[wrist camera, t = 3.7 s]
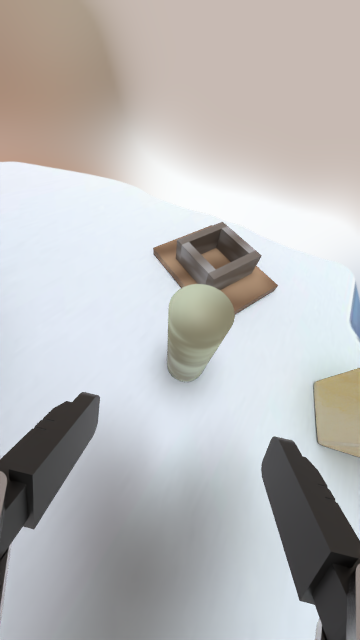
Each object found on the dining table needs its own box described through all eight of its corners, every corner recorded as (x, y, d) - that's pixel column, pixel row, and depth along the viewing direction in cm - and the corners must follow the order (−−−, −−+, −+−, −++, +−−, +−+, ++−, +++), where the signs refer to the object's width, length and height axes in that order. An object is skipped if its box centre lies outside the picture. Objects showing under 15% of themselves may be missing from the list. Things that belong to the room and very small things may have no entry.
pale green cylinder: (160, 357, 23) (156, 300, 13) (189, 339, 25) (207, 275, 14) (180, 389, 22) (194, 353, 11) (210, 368, 23) (248, 319, 13)
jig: (153, 253, 32) (152, 228, 28) (210, 231, 36) (216, 205, 32) (213, 327, 26) (222, 308, 22) (274, 290, 30) (291, 268, 26)
